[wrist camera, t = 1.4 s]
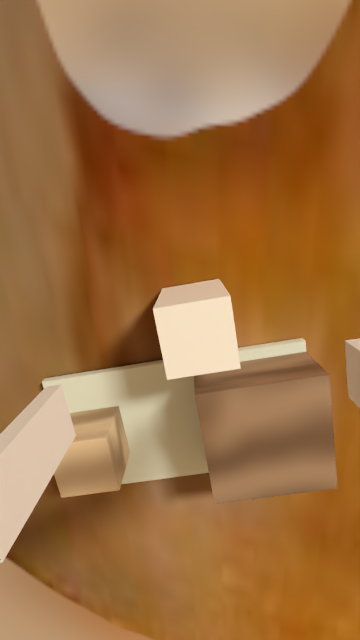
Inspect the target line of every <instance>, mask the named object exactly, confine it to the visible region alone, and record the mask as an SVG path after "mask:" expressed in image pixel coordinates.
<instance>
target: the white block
mask: <svg viewBox="0 0 360 640" xmlns="http://www.w3.org/2000/svg"><path fill="white" fill-rule="evenodd" d="M153 313H154V318H155V323H156V328H157V332H158V337H159V342H160V347H161V352H162V357H163V362H164V367H165V372H166V377H167V380H169V379H176V378H183V377H189V376H196V375H202V374H209V373H215V372H222V371H229V370H235V369H241V367H240V360H239V353H238V346H237V339H236V332H235V325H234V318H233V311H232V304H231V297H230V294H229V293H228V291H227V290H226V288H225V287H224V285H223V284H222V282H221V280H220V279H215V280H209V281H203V282H198V283H192V284H186V285H180V286H174V287H169V288H163V289H162V291H161V293H160V295H159V297H158V299H157V301H156V303H155V305H154V307H153Z"/></svg>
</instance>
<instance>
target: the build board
mask: <svg viewBox="0 0 360 640" xmlns="http://www.w3.org/2000/svg"><path fill="white" fill-rule="evenodd" d="M300 352H306V342H305V340H304V339H303V338H299V339H293V340H287V341H280V342H274V343H268V344H261V345H255V346H248V347H242V348H238V353H239V360H240V362H242V361H248V360H255V359H261V358H268V357H274V356H281V355H287V354H294V353H300ZM61 384H62V388H63V391H64V395H65V398H66V402H67V406H68V409H69V413H74V412H80V411H87V410H94V409H100V408H107V407H114V406H119V409H120V413H121V417H122V421H123V425H124V429H125V433H126V437H127V442H128V446H129V450H130V454H129V458H128V461H127V465H126V469H125V472H124V476H123V480H122V483H121V484H127V483H134V482H142V481H150V480H157V479H165V478H172V477H180V476H187V475H195V474H203V473H209V471H208V466H207V460H206V455H205V449H204V444H203V438H202V433H201V427H200V422H199V416H198V411H197V405H196V400H195V391H194V376H189V377H183V378H176V379H169V380H167V377H166V372H165V367H164V362H163V360H159V361H153V362H147V363H140V364H134V365H127V366H121V367H115V368H108V369H102V370H96V371H89V372H83V373H77V374H70V375H64V376H57V377H51V378H45V379H44V380H43V381H42V385H43V388H45V387H48V386H54V385H61Z"/></svg>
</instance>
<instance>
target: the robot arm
mask: <svg viewBox="0 0 360 640" xmlns="http://www.w3.org/2000/svg"><path fill="white" fill-rule="evenodd" d="M345 352H346V367H347V383H348V397H349V398H350V399H351V400H352V401H353V402H354V403H355V404H356V405H357V406H358V407H359V408H360V338H359V339H352V340H346V341H345ZM75 436H76V434H75V430H74V427H73V423H72V420H71V416H70V413H69V409H68V406H67V402H66V398H65V395H64V391H63V388H62V384H61V385H54V386H48V387H45V388H44V389H43V390H42V391H41V393H40V394H39V395H38V396H37V397H36V398H35V399H34V400H33V401H32V402H31V403H30V404H29V405H28V406H27V407H26V408H25V409H24V410H23V411H22V412H21V413H20V414H19V415H18V416H17V417H16V418H15V419H14V421H13V422H12V423H11V424H10V425H9V426H8V427H7V428H6V429H5V430H4V431H3V432H2V433H1V434H0V563H3V561H4V559H5V557H6V556H7V554H8V552H9V550H10V549H11V547H12V545H13V544H14V542H15V540H16V538H17V537H18V535H19V533H20V531H21V530H22V528H23V526H24V524H25V523H26V521H27V519H28V518H29V516H30V514H31V512H32V511H33V509H34V507H35V505H36V504H37V502H38V500H39V499H40V497H41V495H42V493H43V492H44V490H45V488H46V486H47V485H48V483H49V481H50V480H51V478H52V476H53V474H54V473H55V471H56V469H57V467H58V466H59V464H60V462H61V460H62V459H63V457H64V455H65V454H66V452H67V450H68V448H69V447H70V445H71V443H72V441H73V440H74V438H75Z"/></svg>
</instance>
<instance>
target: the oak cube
mask: <svg viewBox="0 0 360 640" xmlns="http://www.w3.org/2000/svg"><path fill="white" fill-rule="evenodd" d="M70 416H71V420H72V423H73V427H74V430H75V434H76V436H75V438H74V440H73V441H72V443H71V445H70V447H69V448H68V450H67V452H66V454H65V455H64V457H63V459H62V460H61V462H60V464H59V466H58V467H57V469H56V471H55V473H54V476H55V479H56V482H57V486H58V489H59V492H60V495H61V498H64V497H72V496H79V495H87V494H95V493H102V492H110V491H118V490H120V487H121V483H122V480H123V476H124V472H125V469H126V465H127V461H128V458H129V454H130V450H129V446H128V442H127V437H126V433H125V429H124V425H123V421H122V417H121V413H120V409H119V406H114V407H107V408H100V409H94V410H87V411H80V412H74V413H70Z"/></svg>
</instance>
